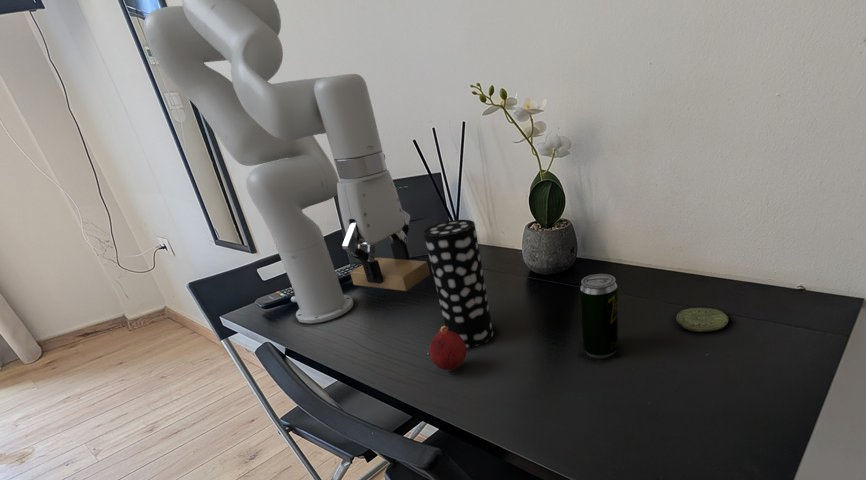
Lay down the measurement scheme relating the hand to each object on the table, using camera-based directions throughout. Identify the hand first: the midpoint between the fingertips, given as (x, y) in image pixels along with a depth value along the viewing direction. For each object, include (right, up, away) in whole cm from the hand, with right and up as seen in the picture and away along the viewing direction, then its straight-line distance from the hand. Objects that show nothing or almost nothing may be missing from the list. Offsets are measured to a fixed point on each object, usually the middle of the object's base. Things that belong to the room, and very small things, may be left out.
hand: (389, 272), depth 82 cm
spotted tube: (+14, -11, +3) cm, 18 cm away
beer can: (+36, -14, -8) cm, 39 cm away
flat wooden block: (0, -1, +1) cm, 1 cm away
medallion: (+53, -9, -5) cm, 54 cm away
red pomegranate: (+12, -17, -6) cm, 22 cm away
